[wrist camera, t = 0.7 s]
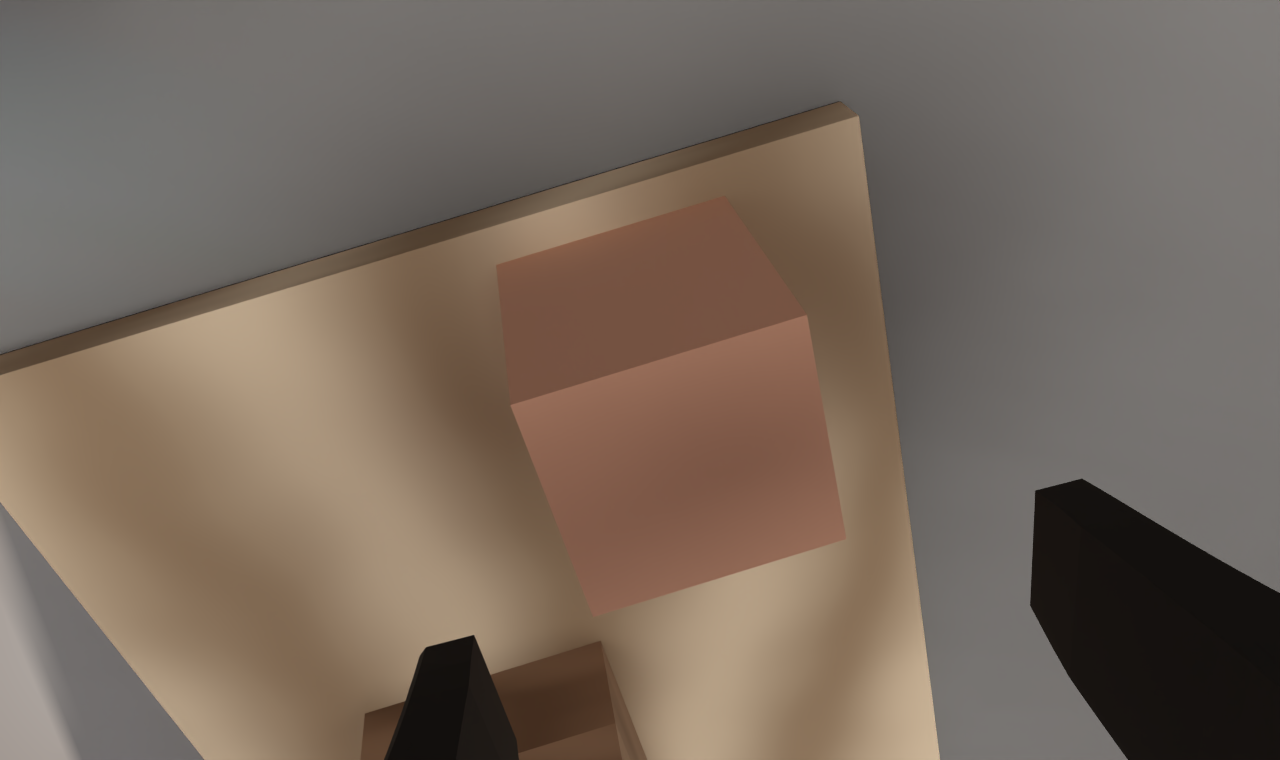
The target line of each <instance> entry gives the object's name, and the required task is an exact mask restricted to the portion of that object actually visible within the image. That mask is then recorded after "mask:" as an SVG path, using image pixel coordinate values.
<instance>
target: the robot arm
mask: <svg viewBox="0 0 1280 760" xmlns="http://www.w3.org/2000/svg"><path fill="white" fill-rule="evenodd" d="M1030 606H1031V608H1032V610H1033V611H1034V613H1035V615H1036V617H1037V619H1038V621H1039V623H1040V625H1041V627H1042V629H1043V630H1044V632H1045V634H1046V636H1047V638H1048V640H1049V642H1050V644H1051V645H1052V647H1053V649H1054V651H1055V653H1056V654H1057V656H1058V658H1059V660H1060V661H1061V663H1062V665H1063V667H1064V669H1065V670H1066V672H1067V674H1068V676H1069V677H1070V679H1071V680H1072V682H1073V683H1074V685H1075V686H1076V687H1077V689H1078V690H1079V692H1080V693H1081V695H1082V696H1083V698H1084V699H1085V700H1086V702H1087V703H1088V705H1089V706H1090V707H1091V709H1092V710H1093V712H1094V713H1095V714H1096V716H1097V717H1098V719H1099V720H1100V721H1101V723H1102V724H1103V726H1104V727H1105V728H1106V730H1107V731H1108V733H1109V734H1110V735H1111V737H1112V738H1113V740H1114V741H1115V742H1116V744H1117V745H1118V747H1119V748H1120V749H1121V751H1122V752H1123V754H1124V755H1125V756H1126V758H1127V759H1128V760H1280V593H1279V592H1277V591H1275V590H1273V589H1271V588H1269V587H1267V586H1265V585H1264V584H1262V583H1260V582H1258V581H1256V580H1254V579H1253V578H1251V577H1249V576H1247V575H1245V574H1244V573H1242V572H1240V571H1238V570H1236V569H1235V568H1233V567H1231V566H1229V565H1228V564H1226V563H1224V562H1222V561H1221V560H1219V559H1217V558H1215V557H1214V556H1212V555H1210V554H1208V553H1207V552H1205V551H1203V550H1201V549H1200V548H1198V547H1196V546H1195V545H1193V544H1191V543H1189V542H1188V541H1186V540H1184V539H1183V538H1181V537H1179V536H1178V535H1176V534H1174V533H1173V532H1171V531H1169V530H1167V529H1166V528H1164V527H1162V526H1161V525H1159V524H1157V523H1156V522H1154V521H1152V520H1151V519H1149V518H1147V517H1146V516H1144V515H1142V514H1141V513H1139V512H1137V511H1136V510H1134V509H1132V508H1131V507H1129V506H1127V505H1126V504H1124V503H1122V502H1121V501H1119V500H1117V499H1116V498H1114V497H1112V496H1111V495H1109V494H1107V493H1106V492H1104V491H1102V490H1101V489H1099V488H1097V487H1095V486H1094V485H1092V484H1090V483H1089V482H1087V481H1085V480H1083V479H1079V480H1075V481H1071V482H1067V483H1063V484H1060V485H1056V486H1052V487H1048V488H1044V489H1040V490H1036V491H1035V512H1034V534H1033V557H1032V579H1031V601H1030ZM384 760H519V755H518V747H517V739H516V737H515V734H514V732H513V730H512V727H511V725H510V722H509V720H508V717H507V715H506V712H505V710H504V707H503V705H502V702H501V700H500V697H499V695H498V692H497V690H496V687H495V685H494V683H493V680H492V678H491V675H490V673H489V670H488V668H487V665H486V663H485V660H484V658H483V655H482V653H481V650H480V648H479V645H478V643H477V640H476V638H475V635H471V636H467V637H463V638H460V639H456V640H452V641H448V642H444V643H440V644H436V645H432V646H428V647H426V648H425V649H424V650H423V652H422V653H421V655H420V656H419V660H418V663H417V666H416V669H415V673H414V676H413V679H412V682H411V685H410V688H409V691H408V694H407V697H406V700H405V703H404V706H403V709H402V712H401V715H400V718H399V720H398V723H397V726H396V729H395V731H394V734H393V737H392V740H391V742H390V745H389V748H388V750H387V753H386V756H385V758H384Z"/></svg>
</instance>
